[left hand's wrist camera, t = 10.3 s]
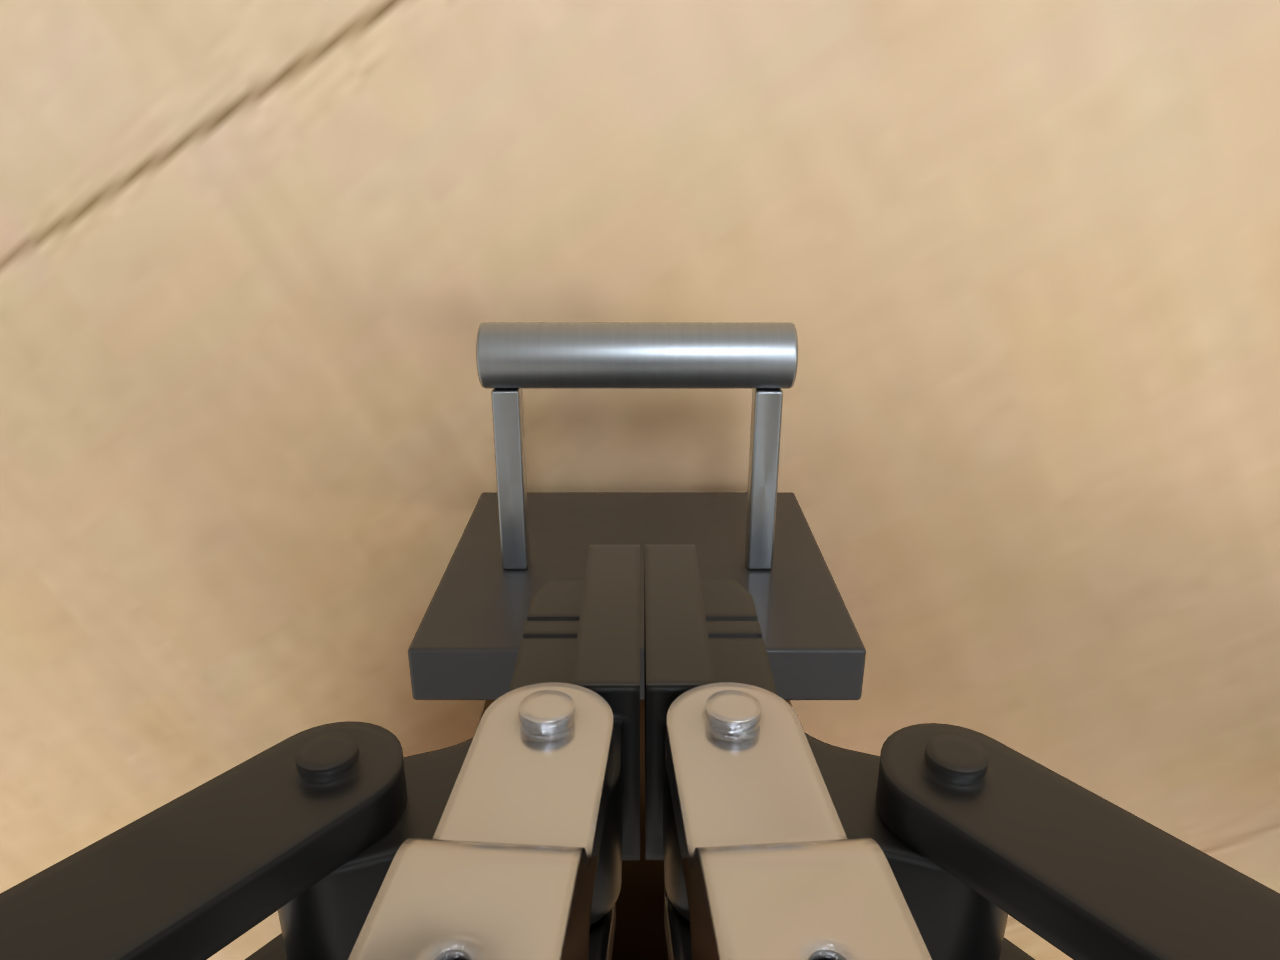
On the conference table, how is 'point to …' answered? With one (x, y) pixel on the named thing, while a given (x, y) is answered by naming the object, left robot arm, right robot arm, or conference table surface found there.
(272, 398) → the conference table surface
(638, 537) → the drawer
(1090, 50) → the conference table surface
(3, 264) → the conference table surface
